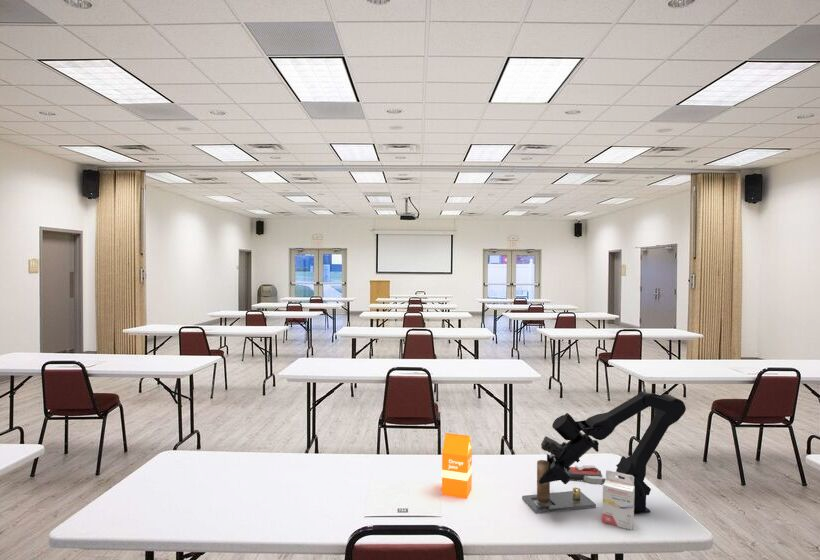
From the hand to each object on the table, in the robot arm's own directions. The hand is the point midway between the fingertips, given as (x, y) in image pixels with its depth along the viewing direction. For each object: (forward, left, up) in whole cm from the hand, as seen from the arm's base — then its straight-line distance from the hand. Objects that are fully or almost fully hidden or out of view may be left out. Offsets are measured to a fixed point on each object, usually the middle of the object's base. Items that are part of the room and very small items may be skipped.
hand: (539, 479), depth 158 cm
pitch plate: (-1, -7, -8) cm, 11 cm away
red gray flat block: (+14, -28, -9) cm, 33 cm away
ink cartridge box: (-16, -18, -8) cm, 25 cm away
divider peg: (-1, -1, -7) cm, 7 cm away
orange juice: (+13, +24, -8) cm, 29 cm away
